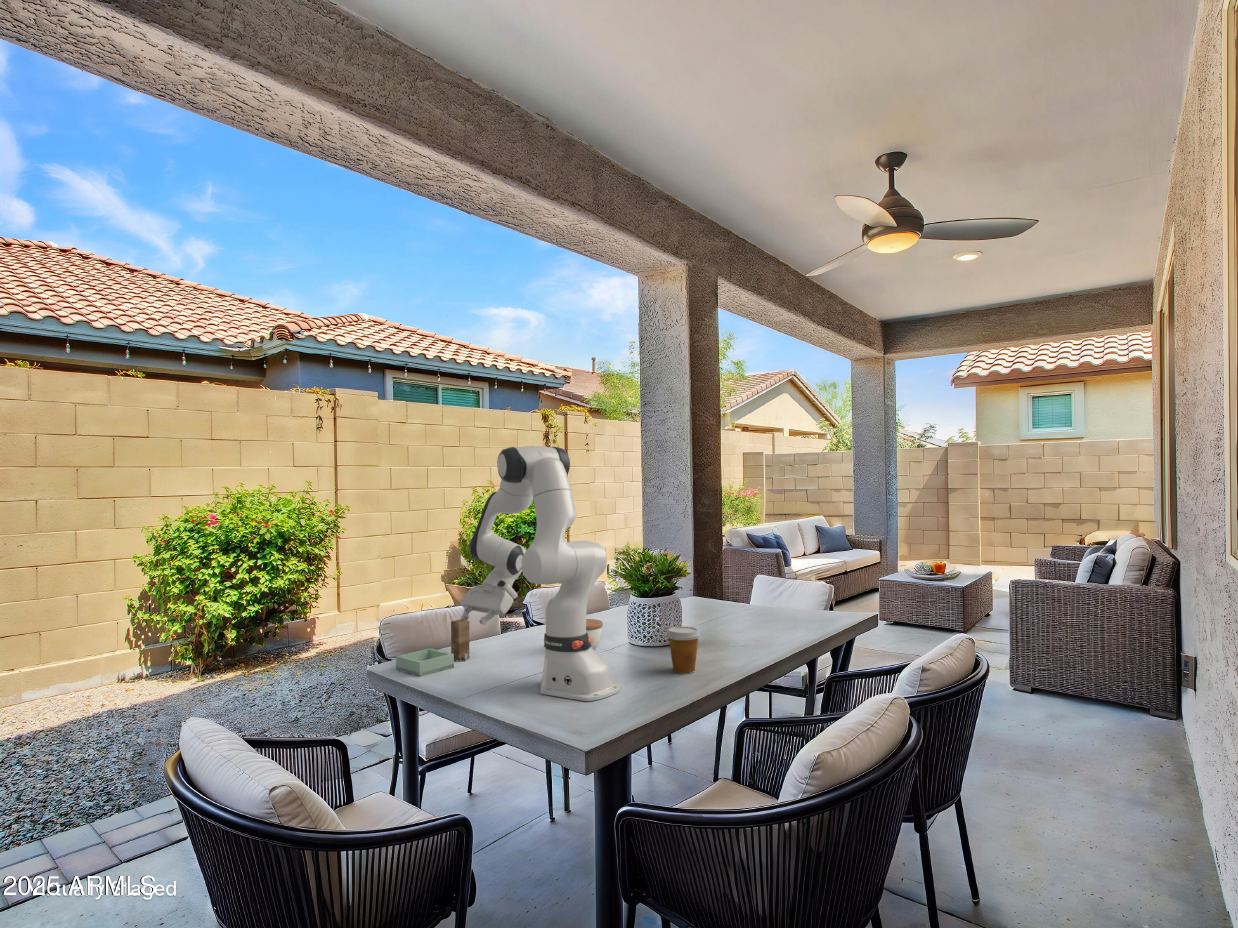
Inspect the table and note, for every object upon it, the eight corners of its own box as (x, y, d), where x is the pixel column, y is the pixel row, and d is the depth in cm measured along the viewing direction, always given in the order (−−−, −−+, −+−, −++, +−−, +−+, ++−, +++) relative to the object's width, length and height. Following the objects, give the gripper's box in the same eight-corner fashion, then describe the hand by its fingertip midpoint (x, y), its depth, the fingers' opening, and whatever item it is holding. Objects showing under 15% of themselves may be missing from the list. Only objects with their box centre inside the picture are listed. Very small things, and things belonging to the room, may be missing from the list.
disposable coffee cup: (702, 667, 194) (701, 626, 194) (697, 676, 184) (697, 633, 185) (671, 665, 196) (670, 625, 196) (664, 674, 187) (664, 632, 187)
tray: (453, 667, 197) (453, 653, 197) (419, 676, 187) (419, 662, 187) (430, 660, 204) (430, 648, 204) (396, 669, 195) (396, 656, 195)
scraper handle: (471, 659, 205) (471, 621, 206) (461, 662, 202) (460, 623, 203) (459, 656, 209) (459, 618, 210) (449, 659, 206) (449, 620, 206)
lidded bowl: (586, 656, 207) (586, 621, 207) (557, 651, 215) (556, 617, 215) (610, 648, 217) (610, 615, 217) (581, 643, 225) (581, 611, 225)
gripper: (470, 578, 223) (446, 611, 215) (511, 583, 210) (487, 619, 202) (480, 590, 226) (458, 623, 218) (521, 595, 213) (498, 631, 205)
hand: (472, 621), depth 210 cm, fingers open, 8 cm apart
